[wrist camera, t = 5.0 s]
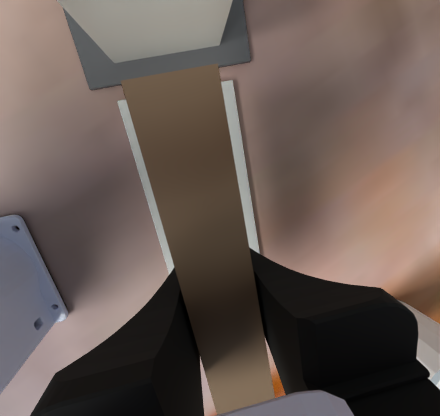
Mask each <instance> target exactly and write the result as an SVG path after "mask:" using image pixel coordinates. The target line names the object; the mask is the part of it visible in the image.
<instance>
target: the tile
mask: <svg viewBox="0 0 440 416" xmlns="http://www.w3.org/2000/svg"><path fill="white" fill-rule="evenodd" d="M57 1H58V2H59V4H60V5H61V6H62V7H63V8H64V9H65V10H66V11H67V12H68V13H69V14H70V16H71V17H72V18H73V19H74V20H75V21H76V22H77V23H78V24H79V25H80V26H81V28H82V29H83V30H84V31H85V32H86V33H87V34H88V35H89V36H90V37H91V38H92V40H93V41H94V42H95V43H96V44H97V45H98V46H99V47H100V48H101V49H102V50H103V52H104V53H105V54H106V55H107V56H108V57H109V58H110V59H111V60H112V61H113V62H114V63H119V62H125V61H131V60H137V59H143V58H148V57H154V56H160V55H166V54H172V53H178V52H184V51H189V50H195V49H201V48H207V47H213V46H219V45H220V42H221V38H222V35H223V32H224V28H225V25H226V21H227V18H228V15H229V11H230V8H231V4H232V1H233V0H57Z"/></svg>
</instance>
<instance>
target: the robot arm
mask: <svg viewBox="0 0 440 416" xmlns="http://www.w3.org/2000/svg"><path fill="white" fill-rule="evenodd" d="M16 226H18V227H19V228H20V230H18V229H16ZM249 249H250V255H251V261H252V267H253V272H254V278H255V284H256V290H257V296H258V302H259V308H260V313H261V319H262V325H263V331H264V336H265V338H266V341H267V343H268V345H269V348H270V351H271V354H272V356H273V359H274V362H275V365H276V368H277V371H278V373H279V376H280V379H281V382H282V385H283V388H284V391H285V394H286V395H285V396H281V397H278V398H274V399H271V400H267V401H264V402H260V403H257V404H254V405H250V406H247V407H243V408H240V409H236V410H233V411H229V412H226V413H222V414H219V415H216V416H440V389H439V388H438V387H437V386H436V385H435V384H434V383H433V382H432V381H430V380H429V379H428V377H430V373H429V371H428V369H427V368H426V367H425V366H424V365H423V364H421V363H420V362H419V361H418V360H417V359H416V355H417V345H418V322H417V320H416V317H415V315H414V313H413V312H411V311H410V310H409V309H408V308H407V307H406V306H405V305H403V304H402V303H401V302H399V301H398V300H397V299H395V298H394V297H393V296H391V295H390V294H389V293H387V292H386V291H384V290H383V289H381V288H377V287H367V286H357V285H349V284H343V283H337V282H332V281H327V280H323V279H319V278H315V277H311V276H308V275H304V274H301V273H299V272H296V271H293V270H290V269H288V268H286V267H283V266H281V265H279V264H277V263H275V262H273V261H271V260H269V259H267V258H266V257H264V256H262V255H261V254H259V253H257V252H256V251H254V250H253V249H251V248H250V247H249ZM54 304H56V305H58V306H55V305H54ZM67 317H68V311H67V309H66V307H65V305H64V303H63V301H62V299H61V297H60V294H59V292H58V290H57V288H56V286H55V284H54V282H53V280H52V278H51V276H50V274H49V272H48V270H47V268H46V266H45V264H44V261H43V259H42V257H41V255H40V253H39V251H38V249H37V247H36V245H35V243H34V241H33V239H32V237H31V235H30V233H29V231H28V228H27V226H26V224H25V222H24V220H23V219H22V217H20V216H19V215H16V214H15V215H9V216H4V217H0V394H1V393H2V391H3V390H4V389H5V388H6V386H7V385H8V384H9V382H10V381H11V380H12V378H13V377H14V376H15V375H16V373H17V372H18V371H19V369H20V368H21V367H22V365H23V364H24V363H25V361H26V360H27V359H28V357H29V356H30V355H31V354H32V352H33V351H34V350H35V348H36V347H37V346H38V344H39V343H40V342H41V340H42V339H43V338H44V336H45V335H46V334H47V332H48V331H49V330H50V329H51V327H52V326H53V325H54V323H56V322H60V321H64V320H65V319H66V318H67ZM30 416H204V408H203V396H202V384H201V372H200V354H199V350H198V347H197V343H196V340H195V336H194V333H193V329H192V326H191V323H190V319H189V316H188V312H187V309H186V305H185V302H184V298H183V295H182V291H181V288H180V285H179V281H178V278H177V274H176V271H175V267H174V268H173V270H172V271H171V273H170V274H169V276H168V277H167V279H166V280H165V282H164V283H163V284H162V286H161V287H160V288H159V289H158V291H157V292H156V293H155V294H154V296H153V297H152V298H151V299H150V300H149V302H148V303H147V304H146V305H145V306H144V307H143V308H142V309H141V310H140V311H139V312H138V313H137V314H136V315H135V316H134V317H133V318H132V319H130V320H129V321H128V322H127V323H126V324H125V325H124V326H122V327H121V328H120V329H119V330H118V331H117V332H115V333H114V334H113V335H112V336H110V337H109V338H108V339H106V340H105V341H104V342H102V343H101V344H100V345H98V346H97V347H95V348H94V349H93V350H91V351H90V352H88V353H87V354H85V355H84V356H82V357H81V358H79V359H78V360H76V361H74V362H73V363H71V364H70V365H68V366H67V367H65V368H64V369H62V370H60V371H59V372H57V373H55V375H54V377H53V378H52V380H51V381H50V383H49V385H48V387H47V388H46V390H45V392H44V393H43V395H42V397H41V398H40V400H39V402H38V403H37V405H36V407H35V408H34V410H33V412H32V413H31V415H30Z"/></svg>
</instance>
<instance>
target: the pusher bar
mask: <svg viewBox="0 0 440 416" xmlns="http://www.w3.org/2000/svg"><path fill="white" fill-rule="evenodd" d="M121 84H122V88H123V91H124V95H125V98H126V102H127V105H128V109H129V112H130V115H131V119H132V122H133V126H134V129H135V133H136V136H137V140H138V143H139V146H140V150H141V153H142V157H143V160H144V164H145V167H146V171H147V174H148V178H149V181H150V184H151V188H152V191H153V195H154V198H155V202H156V205H157V209H158V212H159V216H160V219H161V222H162V226H163V229H164V233H165V236H166V240H167V243H168V247H169V250H170V253H171V257H172V260H173V264H174V267H175V271H176V274H177V278H178V281H179V285H180V288H181V291H182V295H183V298H184V302H185V305H186V309H187V312H188V316H189V319H190V323H191V326H192V329H193V333H194V336H195V340H196V343H197V347H198V350H199V354H200V357H201V360H202V364H203V367H204V371H205V374H206V378H207V381H208V385H209V388H210V392H211V395H212V398H213V402H214V405H215V409H216V412H217V415H219V414H222V413H226V412H229V411H233V410H236V409H240V408H243V407H247V406H250V405H254V404H257V403H260V402H264V401H267V400H271V399H274V398H275V396H274V390H273V384H272V378H271V372H270V366H269V360H268V355H267V349H266V343H265V337H264V331H263V325H262V319H261V313H260V308H259V302H258V296H257V290H256V284H255V278H254V272H253V267H252V261H251V255H250V249H249V243H248V237H247V231H246V225H245V220H244V214H243V208H242V202H241V196H240V190H239V184H238V179H237V173H236V167H235V161H234V155H233V149H232V143H231V137H230V132H229V126H228V120H227V114H226V108H225V102H224V96H223V91H222V85H221V79H220V73H219V67H218V63H217V64H212V65H206V66H200V67H195V68H189V69H183V70H178V71H172V72H167V73H161V74H155V75H150V76H144V77H138V78H133V79H127V80H122V81H121Z"/></svg>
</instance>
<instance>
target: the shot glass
mask: <svg viewBox="0 0 440 416" xmlns="http://www.w3.org/2000/svg"><path fill="white" fill-rule="evenodd" d="M398 301H399V300H398ZM399 302H401V303H402V304H403V305H405V306H406V307H407V308H408V309H409V310H410V311H411V312H413V313H414V315H415V317H416V320H417V322H418V345H417V355H416V359H417V360H418V361H419V362H420V363H421V364H423V365H424V366H425V367H426V368H427V369H428V371H429V373H430V377H428V379H429V380H430V381H432V382H433V383H434V384H435V385H436V386H437V387H438V388H439V389H440V324H439V323H437V322H436V321H434V320H432V319H431V318H429V317H428V316H426V315H424V314H423V313H421V312H419V311H418V310H416V309H415V308H413V307H411V306H410V305H408V304H406V303H405V302H402V301H399Z"/></svg>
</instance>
